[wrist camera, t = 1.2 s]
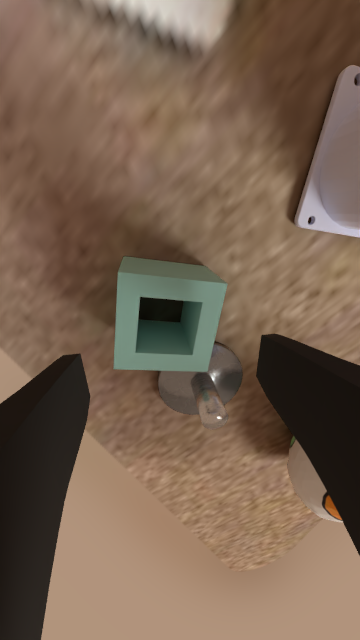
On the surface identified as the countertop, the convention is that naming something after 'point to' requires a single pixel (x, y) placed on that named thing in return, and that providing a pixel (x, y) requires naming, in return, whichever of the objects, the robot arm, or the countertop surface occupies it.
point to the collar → (161, 336)
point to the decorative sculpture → (309, 484)
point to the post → (204, 387)
